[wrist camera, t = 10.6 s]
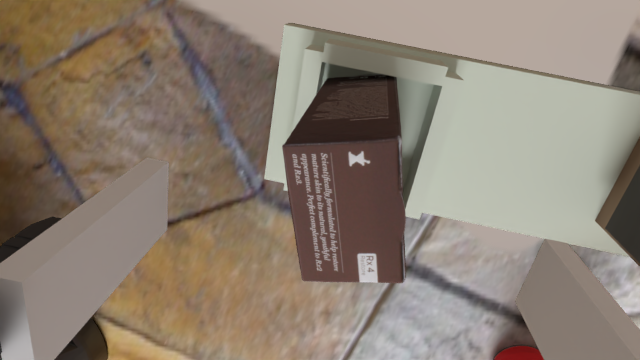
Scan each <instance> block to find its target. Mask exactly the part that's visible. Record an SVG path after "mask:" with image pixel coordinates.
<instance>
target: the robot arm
mask: <svg viewBox="0 0 640 360" xmlns="http://www.w3.org/2000/svg"><path fill="white" fill-rule="evenodd" d="M168 169H169V162H167V161H162V160H157V159H152V158H146V159H144V160H143V161H142V162H140V163H139V164H137V165H136V166H135V167H133V168H132V169H131V170H129V171H128V172H126V173H125V174H124V175H122V176H121V177H119V178H118V179H117V180H115V181H114V182H112V183H111V184H110V185H108V186H107V187H105V188H104V189H103V190H101V191H100V192H99V193H97V194H96V195H94V196H93V197H92V198H90V199H89V200H87V201H86V202H85V203H83V204H82V205H80V206H79V207H78V208H76V209H75V210H74V211H72V212H71V213H69V214H68V215H67V216H65V217H64V218H62V219H61V218H56V217H50V218H48V219H45V220H42V221H39V222H37V223H34V224H31V225H30V226H28V227H27V228H25V229H24V230H23V231H21V232H20V233H18V234H17V235H16V236H15V238H14V237H12V238H11V239H9V240H8V241H6V242H5V243H3V244H2V246H1V247H0V360H107V350H106V345H105V342H104V339H103V337H102V334H101V332H100V331H99V329H98V327H97V326H96V324H95V323H94V321H93V320H92V319H91V317H92V315H93V314H94V313H95V312H96V311H97V310H98V309H99V307H100V306H101V305H102V304H103V303H104V302H105V300H106V299H107V298H108V297H109V296H110V295H111V294H112V292H113V291H114V290H115V289H116V288H117V287H118V285H119V284H120V283H121V282H122V281H123V280H124V279H125V277H126V276H127V275H128V274H129V273H130V272H131V270H132V269H133V268H134V267H135V266H136V265H137V264H138V262H139V261H140V260H141V259H142V258H143V257H144V255H145V254H146V253H147V252H148V251H149V250H150V249H151V247H152V246H153V245H154V244H155V243H156V242H157V240H158V239H159V238H160V237H161V236H162V235H163V234H164V232H165V231H166V230H167V213H168ZM515 303H516V305H517V307H518V309H519V311H520V313H521V315H522V317H523V319H524V321H525V323H526V325H527V327H528V329H529V331H530V333H531V335H532V337H533V339H534V341H535V343H536V345H537V347H538V349H539V351H540V353H541V355H542V357H543V359H544V360H640V330H639V328H638V327H637V326H636V325H635V324H634V322H633V321H632V320H631V319H630V318H629V316H628V315H627V314H626V313H625V312H624V310H623V309H622V308H621V307H620V306H619V304H618V303H617V302H616V301H615V300H614V298H613V297H612V296H611V295H610V294H609V292H608V291H607V290H606V289H605V288H604V286H603V285H602V284H601V283H600V282H599V280H598V279H597V278H596V277H595V276H594V274H593V273H592V272H591V271H590V270H589V268H588V267H587V266H586V265H585V264H584V262H583V261H582V260H581V259H580V258H579V256H578V255H577V254H576V253H575V252H574V250H573V249H572V248H571V247H570V246H569V245H568V243H564V242H559V241H554V240H549V239H545V240H544V242H543V244H542V246H541V248H540V250H539V252H538V254H537V256H536V258H535V261H534V263H533V265H532V267H531V269H530V271H529V273H528V275H527V277H526V279H525V281H524V284H523V286H522V288H521V290H520V292H519V294H518V296H517V298H516V300H515Z"/></svg>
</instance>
